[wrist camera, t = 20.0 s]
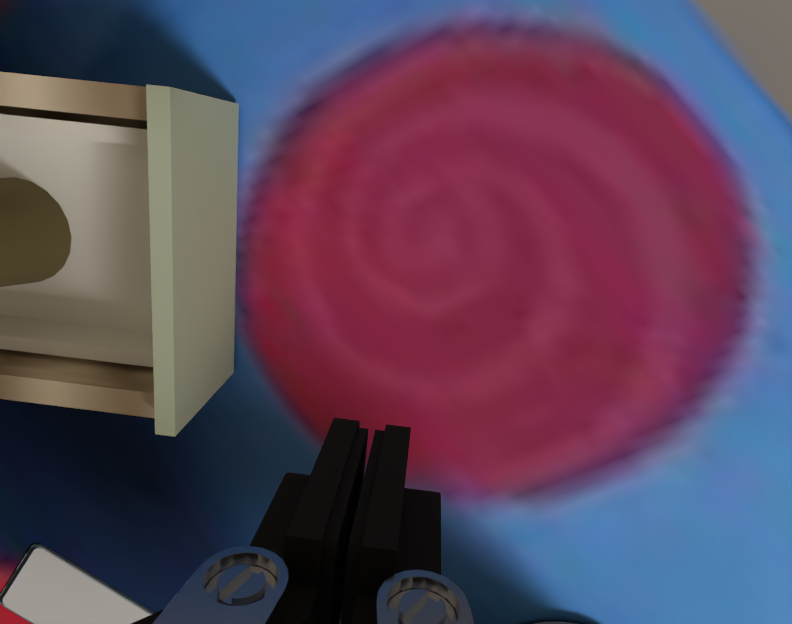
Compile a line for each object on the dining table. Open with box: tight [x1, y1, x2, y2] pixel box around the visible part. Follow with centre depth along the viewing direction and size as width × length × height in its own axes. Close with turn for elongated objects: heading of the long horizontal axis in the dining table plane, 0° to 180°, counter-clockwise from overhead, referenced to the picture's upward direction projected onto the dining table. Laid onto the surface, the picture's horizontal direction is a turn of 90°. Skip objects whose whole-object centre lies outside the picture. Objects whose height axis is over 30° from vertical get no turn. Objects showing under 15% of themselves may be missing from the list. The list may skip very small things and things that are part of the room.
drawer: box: [0, 84, 239, 437], centre depth 29 cm, size 18×16×8 cm
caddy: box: [0, 72, 155, 418], centre depth 30 cm, size 19×16×7 cm
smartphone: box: [0, 544, 154, 624], centre depth 42 cm, size 7×1×15 cm
